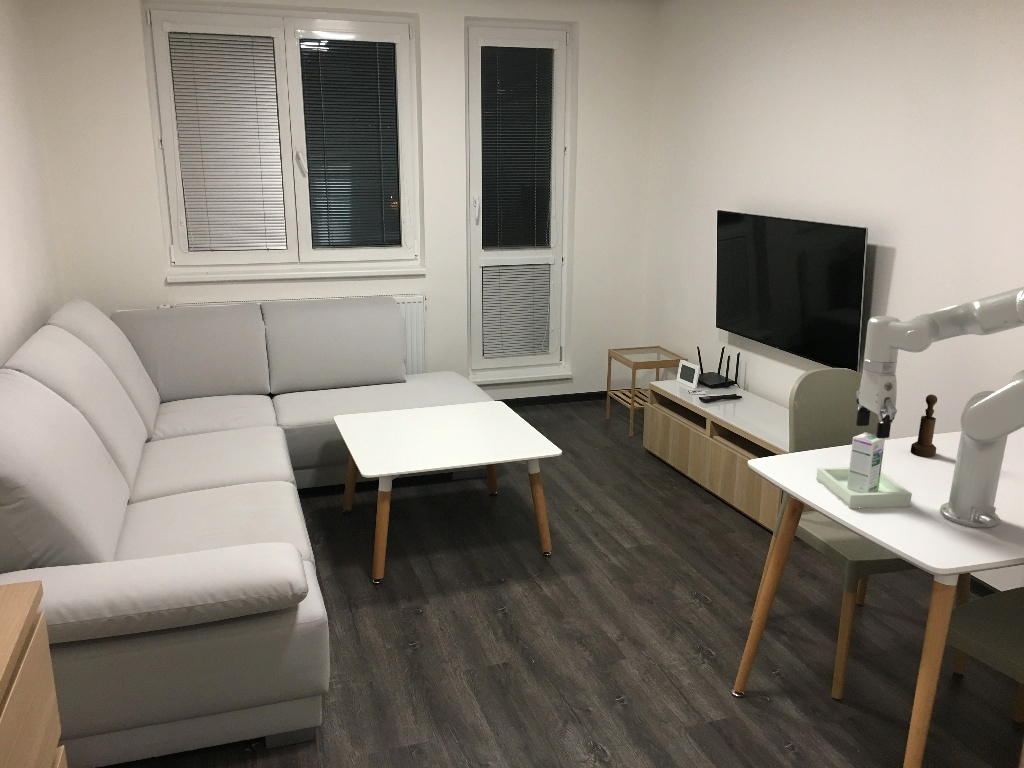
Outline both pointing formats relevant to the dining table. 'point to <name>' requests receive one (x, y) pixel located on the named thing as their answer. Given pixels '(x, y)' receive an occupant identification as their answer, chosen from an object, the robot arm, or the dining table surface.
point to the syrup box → (865, 463)
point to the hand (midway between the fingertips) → (872, 431)
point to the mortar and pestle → (926, 431)
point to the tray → (883, 497)
